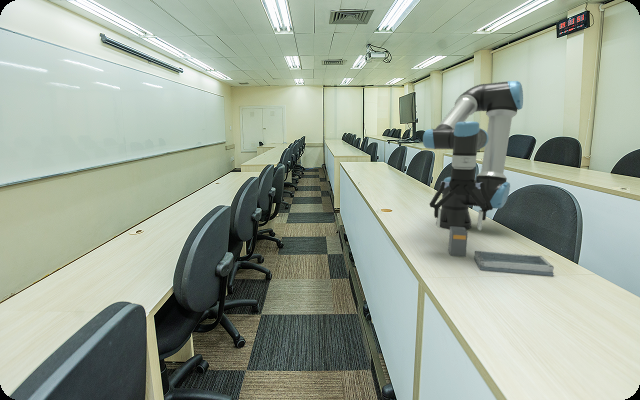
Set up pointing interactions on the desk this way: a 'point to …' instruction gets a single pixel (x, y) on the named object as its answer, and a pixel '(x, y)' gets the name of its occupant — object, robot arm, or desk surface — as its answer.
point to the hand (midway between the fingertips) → (458, 227)
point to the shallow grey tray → (513, 263)
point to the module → (457, 241)
